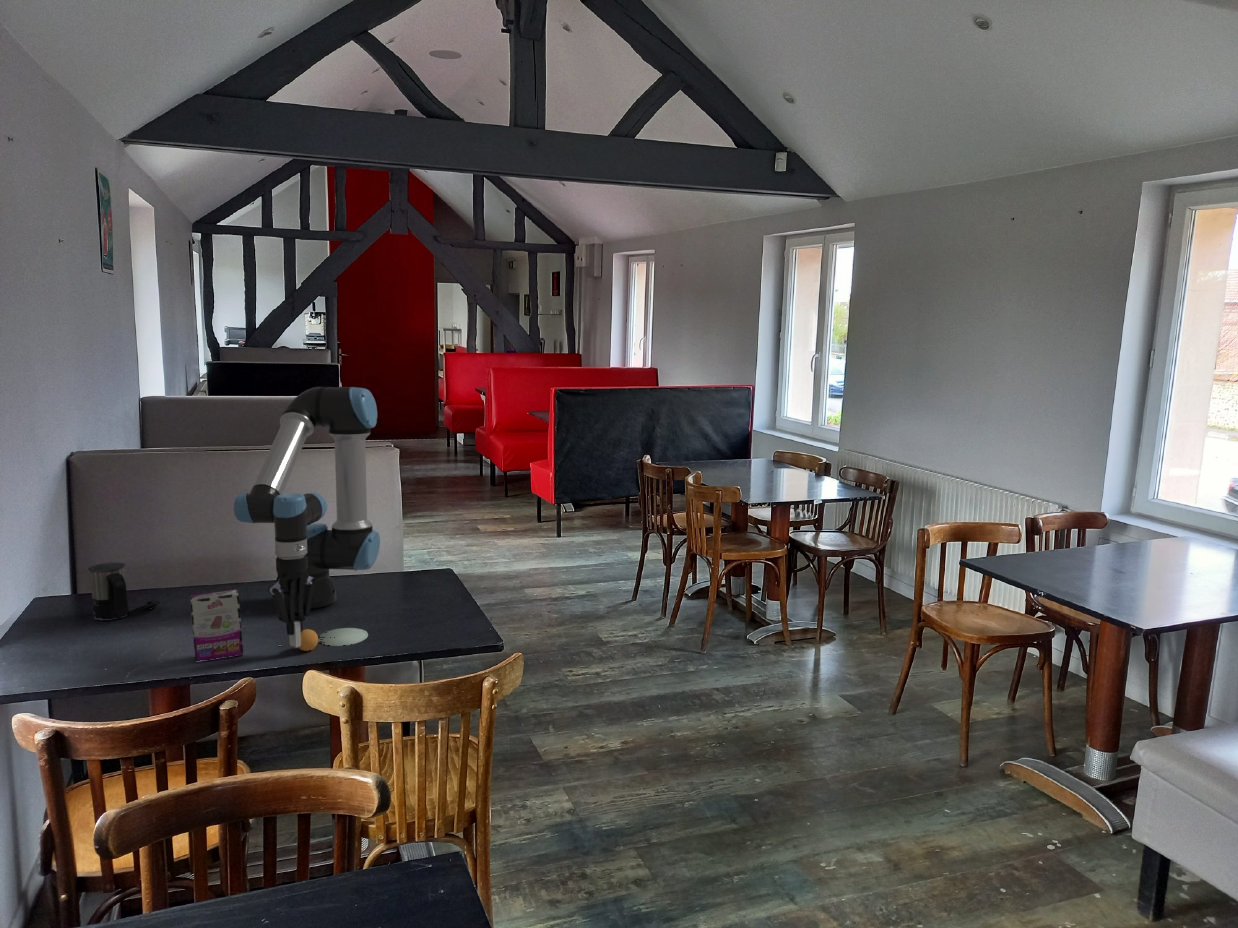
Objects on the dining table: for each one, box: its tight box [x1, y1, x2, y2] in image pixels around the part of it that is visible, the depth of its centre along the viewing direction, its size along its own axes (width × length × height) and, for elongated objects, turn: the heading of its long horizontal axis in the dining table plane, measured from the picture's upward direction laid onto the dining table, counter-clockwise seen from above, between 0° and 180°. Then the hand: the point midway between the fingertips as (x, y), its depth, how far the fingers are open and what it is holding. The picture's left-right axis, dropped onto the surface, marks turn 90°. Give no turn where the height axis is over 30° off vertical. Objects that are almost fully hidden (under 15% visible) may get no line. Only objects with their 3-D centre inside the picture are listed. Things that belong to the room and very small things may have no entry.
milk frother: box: [87, 561, 163, 619], centre depth 249 cm, size 14×16×15 cm
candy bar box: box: [189, 589, 244, 661], centre depth 219 cm, size 11×5×16 cm, turn 117°
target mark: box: [318, 627, 369, 647], centre depth 234 cm, size 13×13×1 cm
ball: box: [297, 628, 319, 652], centre depth 225 cm, size 6×6×6 cm
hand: (295, 645), depth 222 cm, fingers closed
